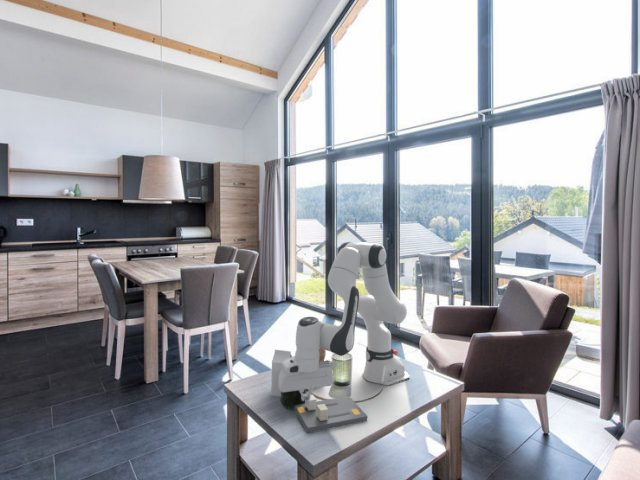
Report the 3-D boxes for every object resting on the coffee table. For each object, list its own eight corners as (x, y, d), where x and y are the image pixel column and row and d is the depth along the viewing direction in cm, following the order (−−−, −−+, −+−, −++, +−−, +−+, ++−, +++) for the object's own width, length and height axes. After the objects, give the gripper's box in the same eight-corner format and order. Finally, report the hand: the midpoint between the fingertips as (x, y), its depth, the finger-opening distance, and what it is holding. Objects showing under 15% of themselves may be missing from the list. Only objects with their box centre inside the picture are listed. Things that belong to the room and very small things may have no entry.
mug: (286, 413, 147) (286, 383, 146) (272, 396, 160) (273, 368, 159) (311, 406, 152) (311, 378, 151) (296, 390, 165) (296, 364, 164)
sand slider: (323, 413, 143) (324, 403, 142) (327, 419, 139) (328, 409, 139) (316, 415, 142) (316, 405, 141) (320, 420, 138) (320, 410, 138)
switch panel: (348, 400, 158) (349, 395, 158) (367, 421, 143) (367, 415, 143) (294, 410, 149) (294, 405, 149) (307, 433, 134) (308, 427, 134)
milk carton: (287, 398, 158) (288, 354, 157) (271, 395, 160) (272, 352, 158) (291, 390, 165) (293, 348, 164) (276, 388, 167) (277, 346, 165)
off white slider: (312, 404, 150) (312, 394, 149) (316, 409, 146) (316, 399, 146) (305, 405, 149) (305, 395, 148) (308, 410, 145) (309, 400, 145)
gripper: (330, 356, 143) (328, 391, 144) (277, 362, 135) (276, 399, 136) (336, 362, 137) (335, 399, 138) (282, 369, 129) (281, 408, 130)
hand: (305, 399), depth 137 cm, fingers closed
